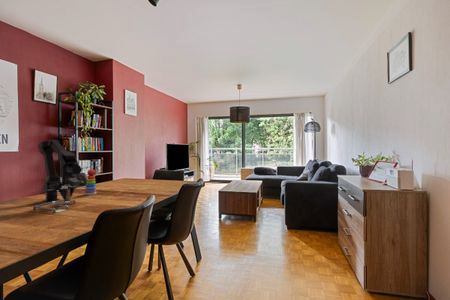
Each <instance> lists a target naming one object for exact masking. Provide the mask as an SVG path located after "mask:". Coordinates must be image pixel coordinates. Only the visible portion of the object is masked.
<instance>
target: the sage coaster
mask: <svg viewBox="0 0 450 300" xmlns="http://www.w3.org/2000/svg"><path fill="white" fill-rule="evenodd" d="M66 211H67V210H66V208H65V209H64V208H59V209H56V213H62V212H66ZM51 212H52V213H53V210H51Z"/></svg>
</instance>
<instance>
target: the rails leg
mask: <svg viewBox="0 0 450 300" xmlns="http://www.w3.org/2000/svg"><path fill="white" fill-rule="evenodd" d="M54 205H55V206H57V207H62V208H65V210H66V211H68V210H69V205H67V204H61V205H60V204H58V203H54ZM33 206H34V207H36V209H43V210H50V211H53V212H52V214H56V213H57V212H56V210H57V208H53V207H46V206H35V204H34V205H33Z"/></svg>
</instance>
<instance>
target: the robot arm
mask: <svg viewBox="0 0 450 300" xmlns="http://www.w3.org/2000/svg"><path fill="white" fill-rule="evenodd" d="M37 148H38V150H39V153H40V154H42V156H43V160H44V167H45V172H46V178H45V180H44V184H43V186H42V187H41V192H42V193H45V199H42V201H43V202H48V203H49V202H54V201H59V200H60V198H58V193H59V194H60V195H61V197H62V200H64V199H65V198H66V189H70V199H71V198H72V197H73V194H74V192H75V190H76V189H77V188H78V187H80V186H85V182H84V181H83V178H82V177H81V176H80V177H75V175H80V174H81V172H82V171H83V170H82V169H83V168H82V167H81V165H79V163H78V160H77V158H76V155H75V154H74V153H73V152H71V151H68V150H66V148H65V147H63V146H62V145H61V143H60V141H59V140H57V139H48V140H46V141H40V142H39V143H38V145H37ZM54 152H55V153H56V154H57V156H58V160H59V162H60V163H61V164H60V165H59V166H60V167H61V175H60V176H58V175H57V173H56V167H55V162H54V161H55V160H54ZM66 187H67V188H66Z"/></svg>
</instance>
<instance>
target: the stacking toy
mask: <svg viewBox="0 0 450 300" xmlns="http://www.w3.org/2000/svg"><path fill="white" fill-rule="evenodd" d="M86 173H87V176H86V178H87V179H86V182H85V183H86V184H85V189H84V192H83V193H84V195H85V196H94V195H96V194H97V185H96V182H97V181H96V176H95V174H96V170H95V169H93V168H91V169H89V170H88V171H87V172H86Z"/></svg>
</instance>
